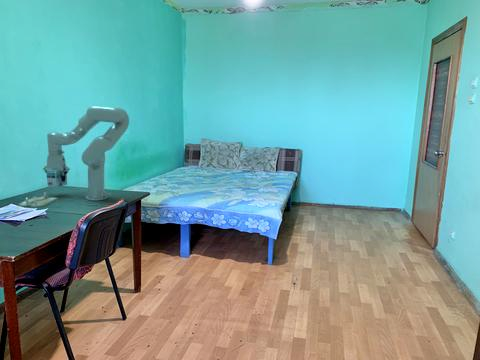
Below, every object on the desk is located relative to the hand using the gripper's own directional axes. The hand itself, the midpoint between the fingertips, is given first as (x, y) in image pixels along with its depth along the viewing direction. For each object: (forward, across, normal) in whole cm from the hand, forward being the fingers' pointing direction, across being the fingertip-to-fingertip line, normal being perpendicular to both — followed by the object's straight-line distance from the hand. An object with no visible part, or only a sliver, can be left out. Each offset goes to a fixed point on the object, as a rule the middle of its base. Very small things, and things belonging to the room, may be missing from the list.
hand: (57, 181), depth 229 cm
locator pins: (+10, +3, +17) cm, 20 cm away
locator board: (+10, +3, +17) cm, 20 cm away
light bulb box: (+3, 0, 0) cm, 3 cm away
